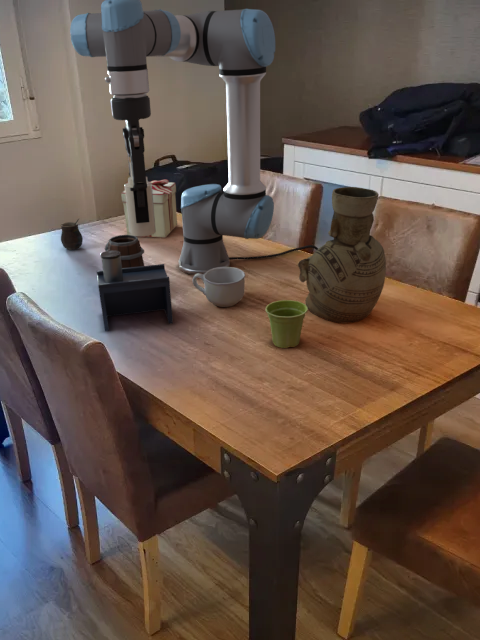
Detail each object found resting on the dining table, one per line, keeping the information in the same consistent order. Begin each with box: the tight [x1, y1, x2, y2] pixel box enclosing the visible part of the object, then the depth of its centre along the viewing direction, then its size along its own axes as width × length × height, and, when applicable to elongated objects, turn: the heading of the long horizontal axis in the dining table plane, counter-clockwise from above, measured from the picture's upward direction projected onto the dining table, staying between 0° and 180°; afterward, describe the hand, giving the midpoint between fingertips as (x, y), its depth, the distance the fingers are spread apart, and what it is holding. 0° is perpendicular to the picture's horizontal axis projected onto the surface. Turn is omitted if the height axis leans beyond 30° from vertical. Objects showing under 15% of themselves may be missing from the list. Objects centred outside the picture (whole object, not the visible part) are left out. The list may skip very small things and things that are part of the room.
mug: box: [104, 234, 145, 268], centre depth 175 cm, size 16×12×15 cm
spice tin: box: [99, 250, 123, 283], centre depth 153 cm, size 5×5×7 cm
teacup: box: [191, 266, 246, 308], centre depth 167 cm, size 14×11×8 cm
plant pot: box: [265, 299, 309, 349], centre depth 145 cm, size 9×9×9 cm
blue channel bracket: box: [96, 263, 174, 332], centre depth 158 cm, size 17×10×12 cm, turn 101°
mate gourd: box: [60, 218, 84, 251], centre depth 209 cm, size 7×8×10 cm
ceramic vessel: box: [297, 186, 387, 324], centre depth 151 cm, size 19×21×30 cm
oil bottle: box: [124, 156, 156, 238], centre depth 132 cm, size 6×6×15 cm
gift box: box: [120, 179, 178, 239], centre depth 218 cm, size 17×18×17 cm
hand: (141, 217), depth 134 cm, fingers closed on oil bottle, 6 cm apart
